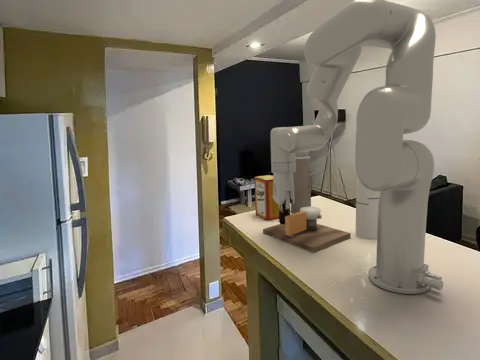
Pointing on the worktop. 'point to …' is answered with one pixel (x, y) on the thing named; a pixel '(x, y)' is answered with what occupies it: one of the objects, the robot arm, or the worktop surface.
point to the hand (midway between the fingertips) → (284, 223)
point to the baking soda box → (265, 198)
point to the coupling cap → (300, 219)
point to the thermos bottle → (302, 182)
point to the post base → (309, 236)
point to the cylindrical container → (366, 211)
